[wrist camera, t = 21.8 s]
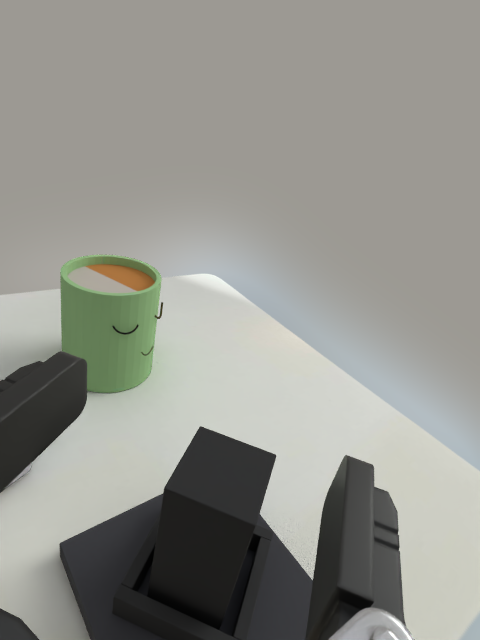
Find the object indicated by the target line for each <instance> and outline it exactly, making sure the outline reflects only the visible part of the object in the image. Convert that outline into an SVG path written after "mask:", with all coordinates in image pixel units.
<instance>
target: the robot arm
mask: <svg viewBox="0 0 480 640" xmlns="http://www.w3.org/2000/svg"><path fill="white" fill-rule="evenodd" d="M86 400H87V362H86V360H85V359H82V358H79V357H77V356H74V355H71V354H69V353H66V352H58V353H56V354H55V355H54V356H52V357H51V358H49V359H48V360H46V361H45V362H44V363H43V362H40V361H38V362H35V363H32V364H30V365H27V366H24V367H21V368H19V369H18V370H16V371H15V372H13V373H12V374H10V375H9V376H7V377H6V378H5V380H2V381H0V493H1V492H2V491H3V490H4V489H5V488H6V487H7V486H8V485H9V484H10V483H11V482H12V481H13V480H14V479H15V478H16V477H17V476H18V475H19V474H20V473H21V472H22V471H23V470H24V469H25V468H26V467H27V466H28V465H29V464H30V463H31V462H32V461H33V460H35V459H36V458H37V457H38V456H39V455H40V454H41V453H42V452H43V451H44V450H45V449H46V448H47V447H48V446H49V445H50V444H51V443H52V442H53V441H54V440H55V439H56V438H57V437H58V436H59V435H60V434H61V433H62V432H63V431H64V430H65V429H66V428H67V427H68V426H69V425H70V424H71V423H73V422H74V421H75V420H76V419H77V418H78V416H79V415H80V414H81V412H82V411H83V409H84V406H85V404H86ZM0 640H39V639H38V638H37V636H36V635H35V634H34V633H33V632H32V631H31V630H30V629H29V628H28V626H27V625H26V624H25V623H24V622H23V621H22V620H21V619H20V618H18V617H16V616H14V615H12V614H10V613H8V612H6V611H4V610H2V609H0ZM305 640H415V639H414V638H413V636H412V634H411V633H410V632H409V630H408V629H407V628H406V624H405V621H404V613H403V597H402V580H401V564H400V551H399V535H398V516H397V510H396V508H395V506H394V504H393V501H392V499H391V497H390V495H389V493H388V492H387V491H384V490H381V489H379V488H376V487H374V467H373V465H372V464H369V463H366V462H364V461H361V460H358V459H355V458H353V457H350V456H347V455H345V457H344V458H343V460H342V462H341V464H340V467H339V469H338V471H337V473H336V475H335V478H334V480H333V482H332V484H331V486H330V488H329V491H328V493H327V496H326V499H325V503H324V507H323V511H322V518H321V525H320V533H319V540H318V548H317V555H316V563H315V570H314V578H313V585H312V593H311V600H310V608H309V615H308V622H307V630H306V637H305Z"/></svg>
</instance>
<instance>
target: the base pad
mask: <svg viewBox="0 0 480 640" xmlns="http://www.w3.org/2000/svg"><path fill="white" fill-rule="evenodd" d="M163 494H164V493H163ZM163 494H161V495H159V496H157V497H155V498H153V499H151V500H149V501H147V502H145V503H143V504H140V505H138V506H136V507H134V508H132V509H130V510H128V511H126V512H124V513H122V514H120V515H118V516H115V517H113V518H111V519H109V520H107V521H105V522H103V523H101V524H99V525H97V526H95V527H93V528H90V529H88V530H86V531H84V532H82V533H80V534H78V535H76V536H74V537H72V538H70V539H68V540H66V541H63V542H61V543H60V557H61V559H62V562H63V565H64V568H65V570H66V573H67V576H68V579H69V581H70V584H71V587H72V589H73V592H74V595H75V598H76V600H77V603H78V606H79V608H80V611H81V614H82V617H83V619H84V622H85V625H86V627H87V630H88V633H89V636H90V638H91V640H305V637H306V630H307V622H308V615H309V608H310V600H311V593H312V585H313V581H312V579H311V578H310V577H309V576H308V574H307V573H306V572H305V571H304V569H303V568H302V567H301V566H300V564H299V563H298V562H297V561H296V559H295V558H294V557H293V556H292V554H291V553H290V552H289V550H288V549H287V548H286V547H285V545H284V544H283V543H282V542H281V540H280V539H279V538H278V537H277V535H276V534H275V533H274V532H273V530H272V529H271V528H270V527H269V525H268V524H267V523H266V522H265V520H264V519H263V518H262V517H261V515H260V514H259V517H258V520H257V523H256V527H255V529H254V532H253V535H252V538H251V541H250V544H249V547H248V550H247V552H246V555H245V558H244V561H243V564H242V567H241V570H240V572H239V575H238V578H237V581H236V584H235V587H234V590H233V593H232V595H231V598H230V601H229V604H228V607H227V610H226V613H225V616H224V618H223V621H222V624H221V627H220V630H217V629H215V628H213V627H211V626H209V625H207V624H204V623H202V622H200V621H198V620H196V619H194V618H192V617H190V616H187V615H185V614H183V613H181V612H179V611H177V610H175V609H173V608H170V607H168V606H166V605H164V604H162V603H160V602H158V601H156V600H153V599H151V598H149V597H147V594H148V588H149V581H150V575H151V569H152V563H153V556H154V550H155V544H156V538H157V531H158V525H159V519H160V513H161V506H162V500H163Z"/></svg>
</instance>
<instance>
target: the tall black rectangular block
mask: <svg viewBox="0 0 480 640" xmlns="http://www.w3.org/2000/svg"><path fill="white" fill-rule="evenodd" d="M275 459H276V455H275V454H272V453H270V452H267V451H264V450H262V449H259V448H257V447H254V446H251V445H249V444H246V443H243V442H241V441H238V440H235V439H233V438H230V437H227V436H225V435H222V434H220V433H217V432H214V431H212V430H209V429H206V428H204V427H199V429H198V431H197V433H196V434H195V436H194V438H193V439H192V441H191V443H190V445H189V446H188V448H187V450H186V452H185V453H184V455H183V457H182V458H181V460H180V462H179V464H178V465H177V467H176V469H175V470H174V472H173V474H172V476H171V477H170V479H169V481H168V483H167V484H166V486H165V488H164V494H163V500H162V506H161V513H160V519H159V525H158V531H157V538H156V544H155V550H154V556H153V563H152V569H151V575H150V581H149V588H148V594H147V597H149V598H151V599H153V600H156V601H158V602H160V603H162V604H164V605H166V606H168V607H170V608H173V609H175V610H177V611H179V612H181V613H183V614H185V615H187V616H190V617H192V618H194V619H196V620H198V621H200V622H202V623H204V624H207V625H209V626H211V627H213V628H215V629H217V630H220V627H221V624H222V621H223V618H224V616H225V613H226V610H227V607H228V604H229V601H230V598H231V595H232V593H233V590H234V587H235V584H236V581H237V578H238V575H239V572H240V570H241V567H242V564H243V561H244V558H245V555H246V552H247V550H248V547H249V544H250V541H251V538H252V535H253V532H254V529H255V527H256V523H257V520H258V517H259V513H260V510H261V506H262V503H263V500H264V496H265V493H266V489H267V486H268V483H269V479H270V476H271V472H272V469H273V466H274V462H275Z"/></svg>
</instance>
